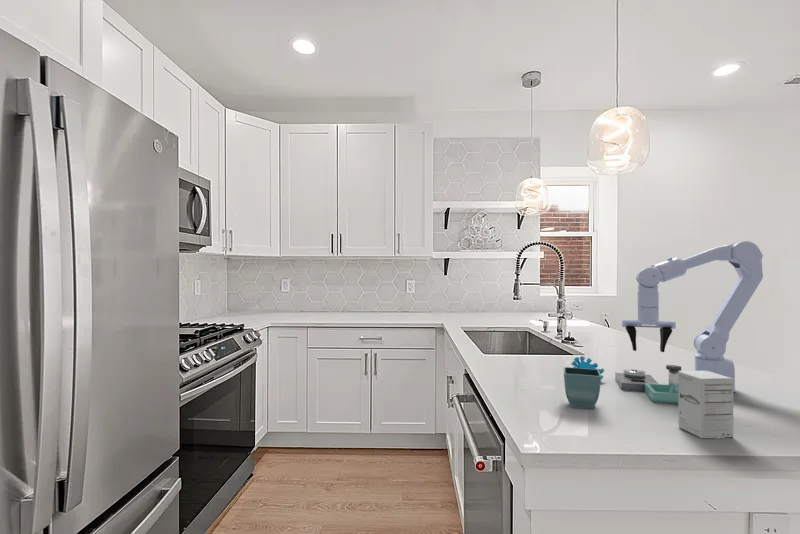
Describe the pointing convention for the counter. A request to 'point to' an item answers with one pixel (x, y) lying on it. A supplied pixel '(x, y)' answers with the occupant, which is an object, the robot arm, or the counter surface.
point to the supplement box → (706, 404)
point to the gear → (586, 364)
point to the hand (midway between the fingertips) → (648, 351)
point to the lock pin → (673, 378)
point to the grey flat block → (633, 379)
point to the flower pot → (582, 386)
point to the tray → (661, 393)
